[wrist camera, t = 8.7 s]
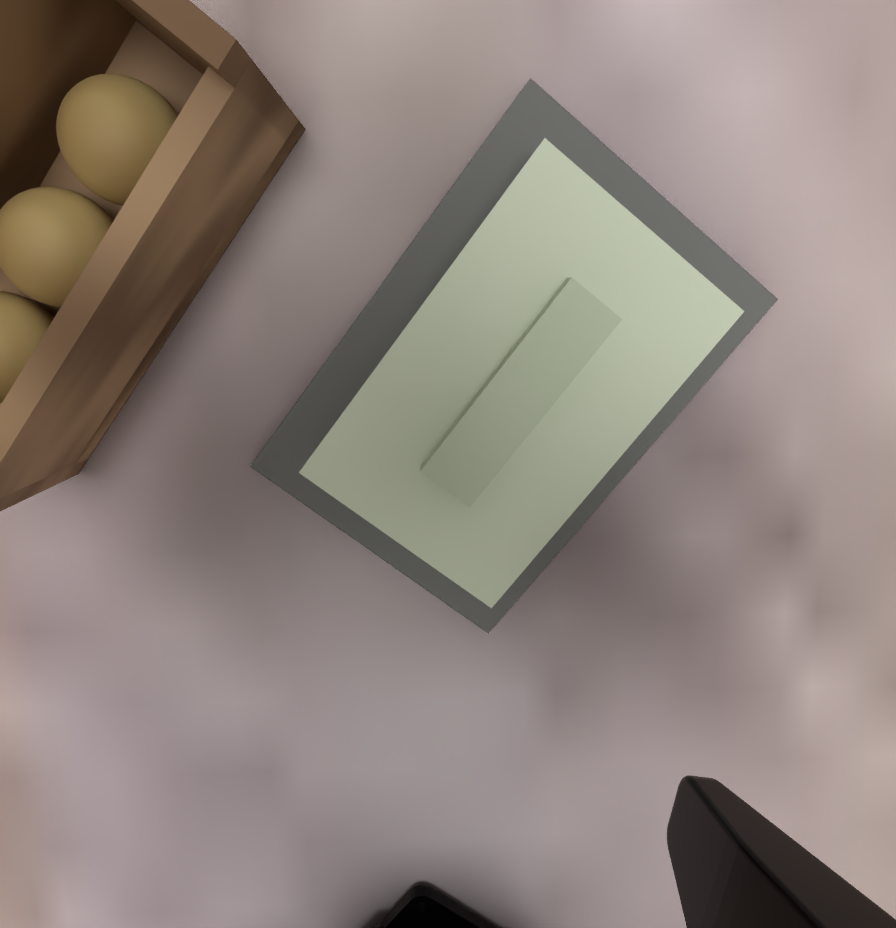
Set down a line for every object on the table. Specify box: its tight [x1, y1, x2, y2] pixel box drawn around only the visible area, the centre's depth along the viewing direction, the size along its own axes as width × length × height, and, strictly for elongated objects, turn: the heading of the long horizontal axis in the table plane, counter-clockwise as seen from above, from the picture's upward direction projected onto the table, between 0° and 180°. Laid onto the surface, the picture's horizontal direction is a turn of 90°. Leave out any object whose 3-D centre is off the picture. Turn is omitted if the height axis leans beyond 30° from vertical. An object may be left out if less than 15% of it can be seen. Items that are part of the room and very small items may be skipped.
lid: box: [299, 138, 744, 608], centre depth 17 cm, size 10×6×3 cm, turn 142°
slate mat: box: [250, 78, 778, 633], centre depth 19 cm, size 9×13×1 cm
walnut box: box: [0, 0, 305, 511], centre depth 15 cm, size 12×5×6 cm, turn 142°
